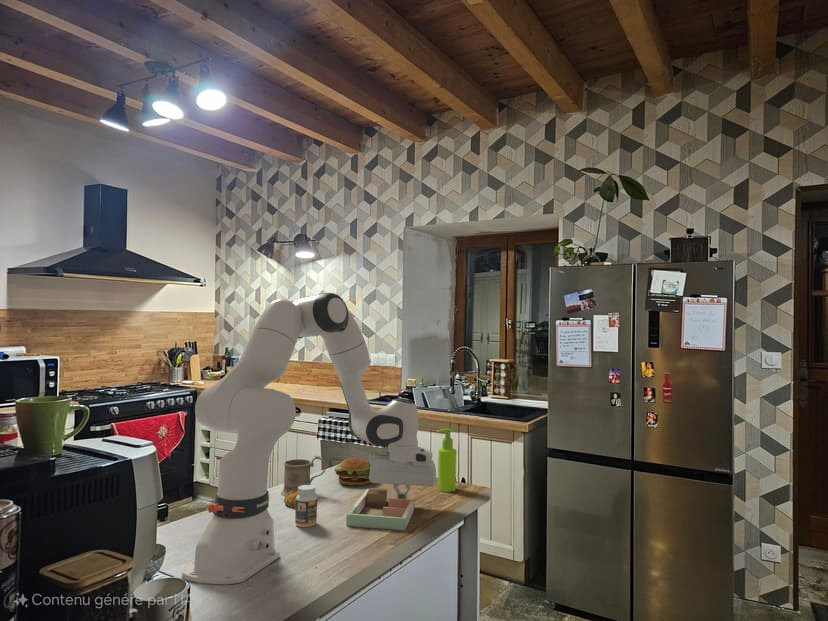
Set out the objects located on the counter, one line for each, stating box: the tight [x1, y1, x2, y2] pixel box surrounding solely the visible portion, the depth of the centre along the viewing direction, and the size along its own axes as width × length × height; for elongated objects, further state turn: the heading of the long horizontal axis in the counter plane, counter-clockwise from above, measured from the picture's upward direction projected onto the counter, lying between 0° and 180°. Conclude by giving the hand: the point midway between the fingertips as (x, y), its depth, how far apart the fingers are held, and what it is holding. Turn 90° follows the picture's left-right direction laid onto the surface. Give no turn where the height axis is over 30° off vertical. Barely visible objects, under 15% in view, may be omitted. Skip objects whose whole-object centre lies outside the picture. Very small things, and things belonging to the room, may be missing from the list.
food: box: [334, 456, 371, 486], centre depth 194 cm, size 14×14×8 cm
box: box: [345, 488, 415, 531], centre depth 161 cm, size 24×16×3 cm, turn 171°
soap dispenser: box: [436, 428, 457, 493], centre depth 186 cm, size 6×7×20 cm
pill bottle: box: [294, 484, 318, 528], centre depth 151 cm, size 6×6×10 cm
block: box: [365, 487, 388, 508], centre depth 170 cm, size 6×6×4 cm
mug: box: [280, 455, 327, 498], centre depth 179 cm, size 14×10×12 cm
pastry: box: [283, 491, 299, 510], centre depth 166 cm, size 9×7×4 cm
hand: (402, 498), depth 169 cm, fingers closed
